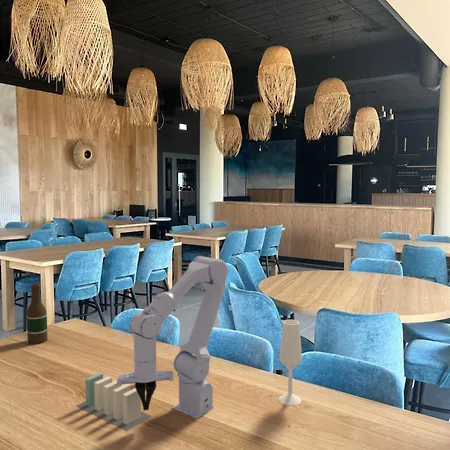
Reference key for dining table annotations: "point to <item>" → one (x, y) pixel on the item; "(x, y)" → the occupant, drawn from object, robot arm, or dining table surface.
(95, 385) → the domino
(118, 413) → the domino
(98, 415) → the runner mat
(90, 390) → the domino
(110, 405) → the domino
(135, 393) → the domino
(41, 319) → the beer bottle
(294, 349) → the champagne flute
